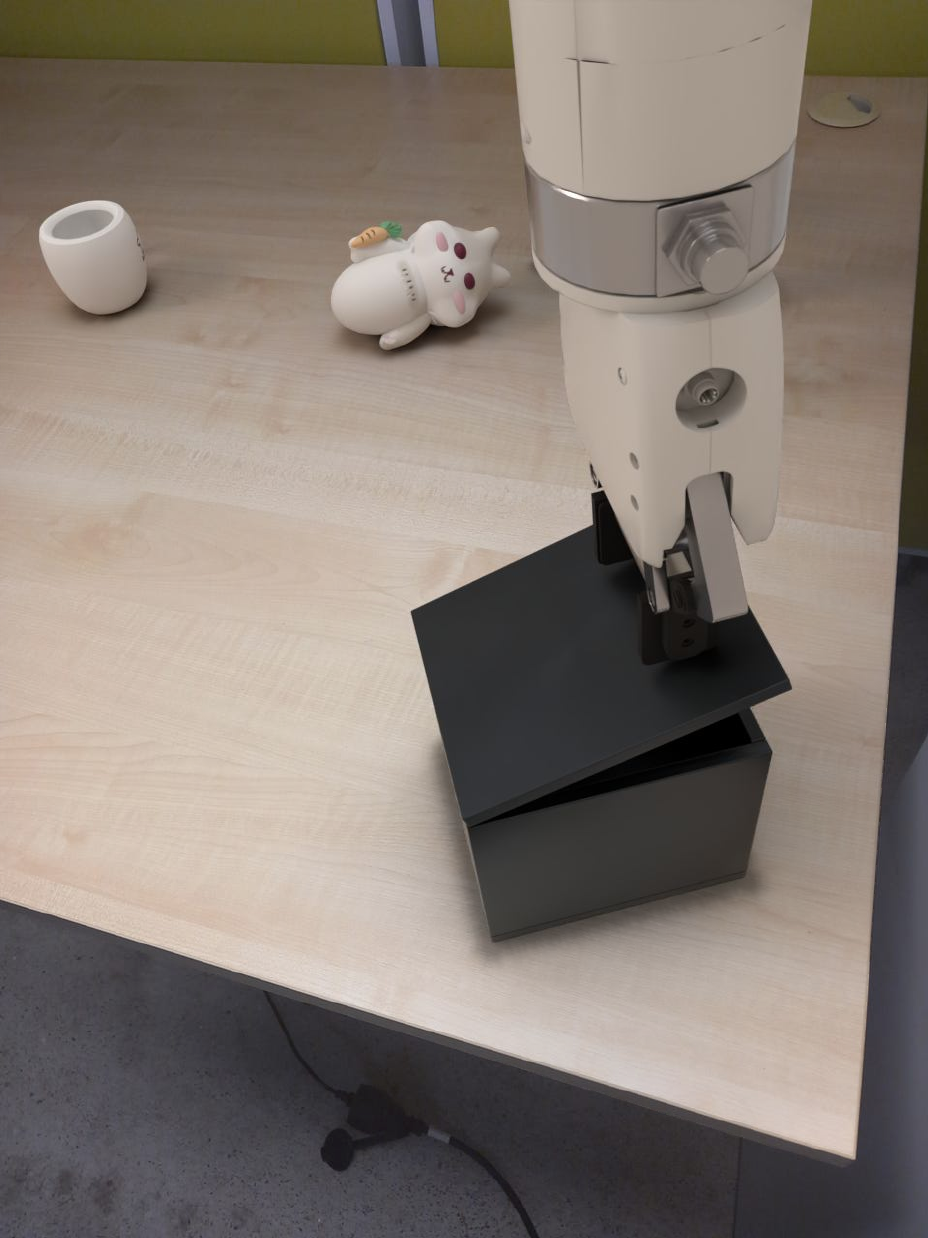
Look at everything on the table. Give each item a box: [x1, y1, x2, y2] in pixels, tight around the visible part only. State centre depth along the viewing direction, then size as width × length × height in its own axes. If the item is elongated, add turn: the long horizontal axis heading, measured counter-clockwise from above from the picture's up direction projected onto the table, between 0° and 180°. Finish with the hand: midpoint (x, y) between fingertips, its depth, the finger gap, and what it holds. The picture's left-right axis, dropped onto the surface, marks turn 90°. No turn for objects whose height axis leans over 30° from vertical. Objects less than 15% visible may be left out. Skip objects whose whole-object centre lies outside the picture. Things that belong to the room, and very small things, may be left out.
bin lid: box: [410, 514, 793, 827], centre depth 43 cm, size 14×12×5 cm
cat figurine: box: [330, 219, 512, 351], centre depth 85 cm, size 10×8×15 cm
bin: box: [432, 703, 773, 943], centre depth 51 cm, size 13×12×12 cm
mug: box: [38, 199, 148, 316], centre depth 94 cm, size 12×8×8 cm
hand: (653, 597), depth 44 cm, fingers closed on bin lid, 5 cm apart
